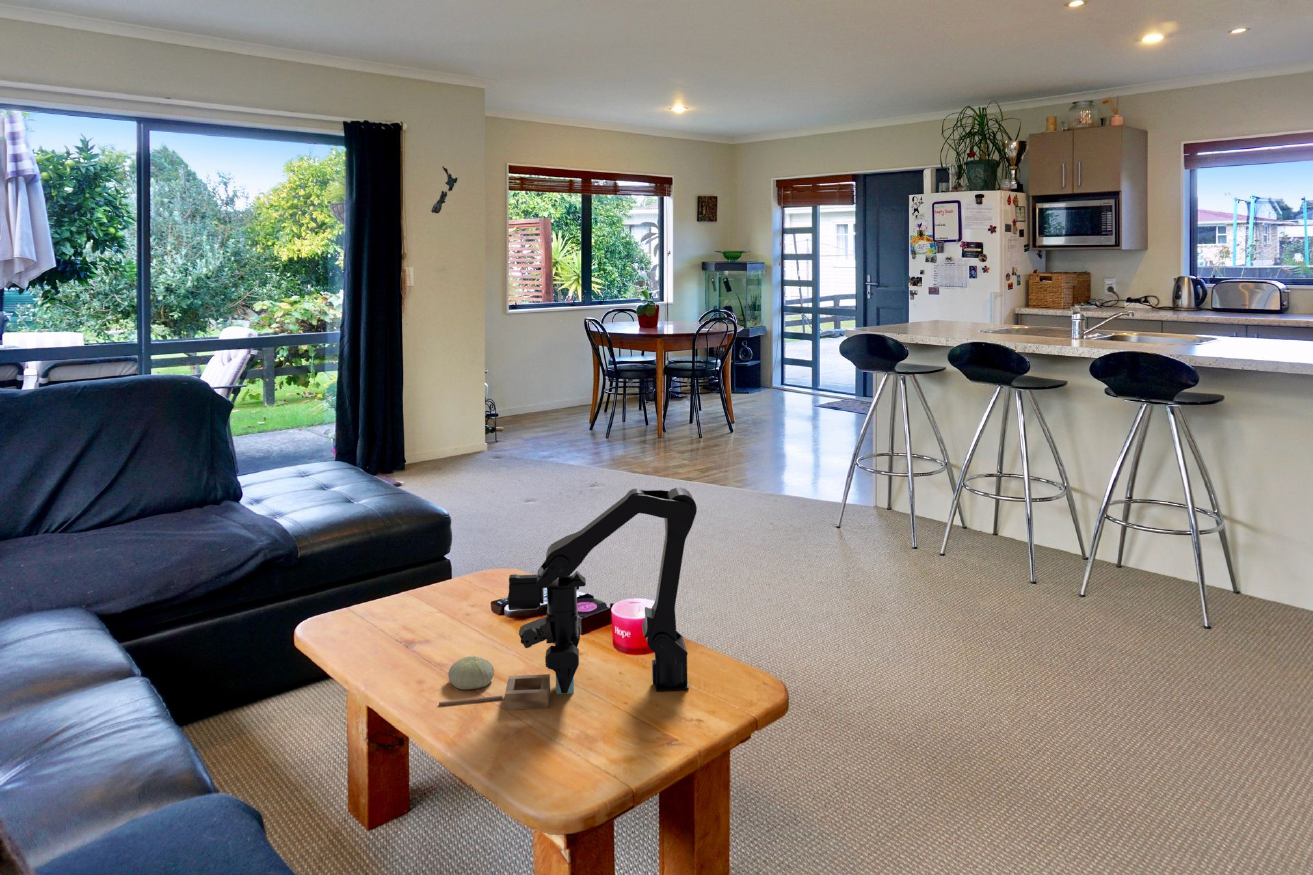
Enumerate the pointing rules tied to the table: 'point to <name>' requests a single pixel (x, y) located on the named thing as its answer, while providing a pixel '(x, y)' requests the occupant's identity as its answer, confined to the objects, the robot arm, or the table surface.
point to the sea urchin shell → (471, 673)
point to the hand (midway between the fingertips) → (565, 682)
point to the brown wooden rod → (470, 700)
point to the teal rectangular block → (570, 691)
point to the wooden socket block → (527, 692)
